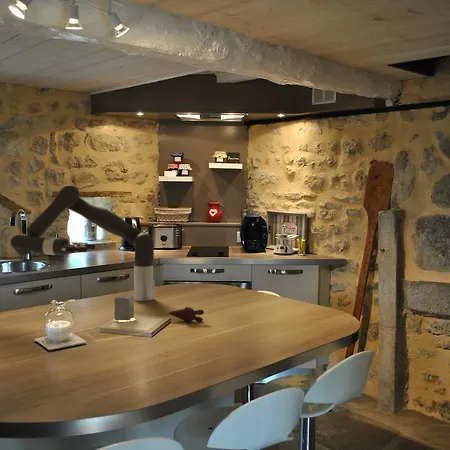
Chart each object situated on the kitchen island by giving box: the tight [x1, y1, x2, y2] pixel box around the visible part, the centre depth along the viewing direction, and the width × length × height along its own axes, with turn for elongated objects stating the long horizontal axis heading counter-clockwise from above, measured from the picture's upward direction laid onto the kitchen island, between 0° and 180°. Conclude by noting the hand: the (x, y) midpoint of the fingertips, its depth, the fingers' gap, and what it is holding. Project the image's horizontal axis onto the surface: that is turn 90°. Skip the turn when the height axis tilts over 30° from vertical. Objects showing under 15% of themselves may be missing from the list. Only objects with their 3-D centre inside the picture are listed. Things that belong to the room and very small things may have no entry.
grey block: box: [114, 293, 135, 320], centre depth 221 cm, size 6×6×10 cm
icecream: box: [168, 306, 205, 323], centre depth 221 cm, size 7×7×15 cm
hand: (90, 248), depth 226 cm, fingers open, 8 cm apart
